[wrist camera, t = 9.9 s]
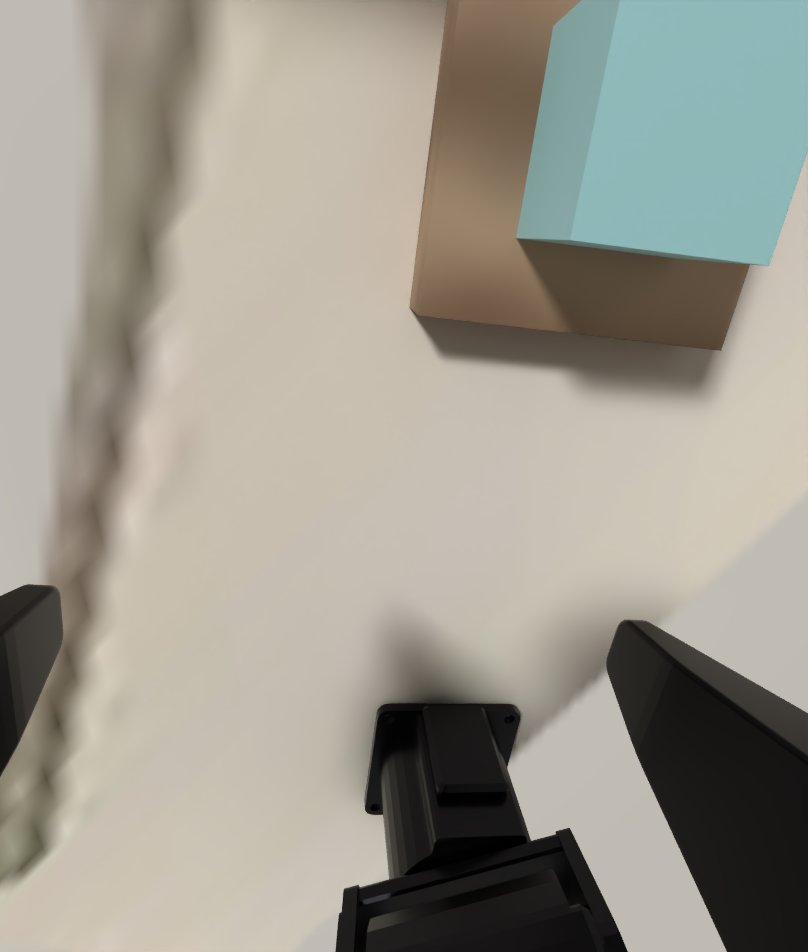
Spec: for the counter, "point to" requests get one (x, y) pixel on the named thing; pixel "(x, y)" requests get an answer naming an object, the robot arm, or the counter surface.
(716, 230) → the teal block
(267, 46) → the counter surface
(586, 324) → the walnut base
